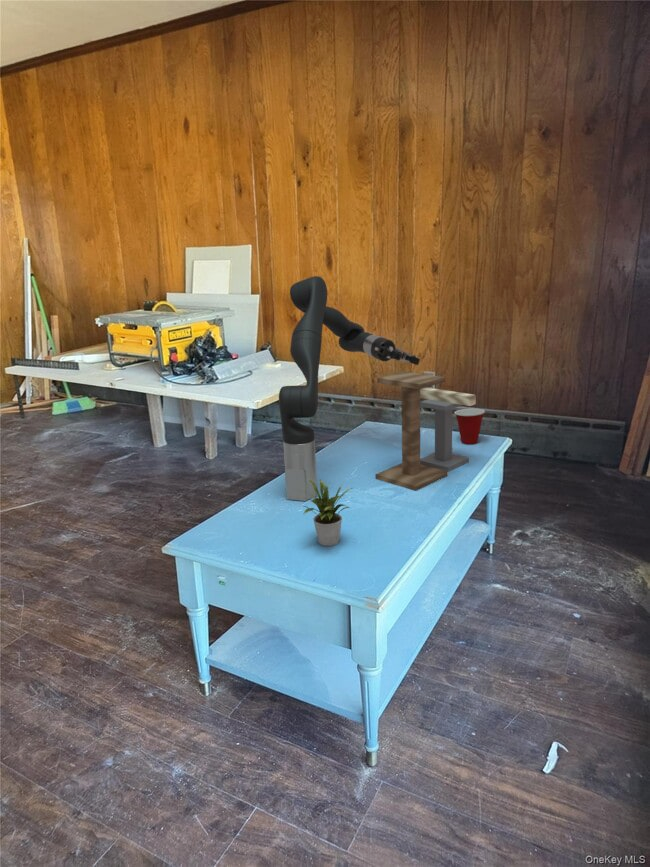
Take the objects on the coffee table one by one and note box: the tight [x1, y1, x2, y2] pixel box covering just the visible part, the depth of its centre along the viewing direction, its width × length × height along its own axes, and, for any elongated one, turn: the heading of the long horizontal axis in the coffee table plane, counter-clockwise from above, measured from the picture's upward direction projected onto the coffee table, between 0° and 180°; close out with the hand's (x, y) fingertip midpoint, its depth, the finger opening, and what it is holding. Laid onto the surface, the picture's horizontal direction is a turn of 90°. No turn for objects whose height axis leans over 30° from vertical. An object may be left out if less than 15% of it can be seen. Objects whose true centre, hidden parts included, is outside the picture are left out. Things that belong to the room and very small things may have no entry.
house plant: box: [303, 478, 354, 547], centre depth 147 cm, size 14×14×16 cm
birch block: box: [420, 387, 477, 407], centre depth 194 cm, size 24×3×3 cm, turn 44°
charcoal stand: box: [420, 399, 470, 472], centre depth 196 cm, size 12×12×22 cm
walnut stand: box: [375, 370, 449, 492], centre depth 184 cm, size 16×16×32 cm
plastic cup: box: [454, 408, 486, 445], centre depth 218 cm, size 11×11×12 cm
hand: (409, 359), depth 193 cm, fingers open, 8 cm apart
